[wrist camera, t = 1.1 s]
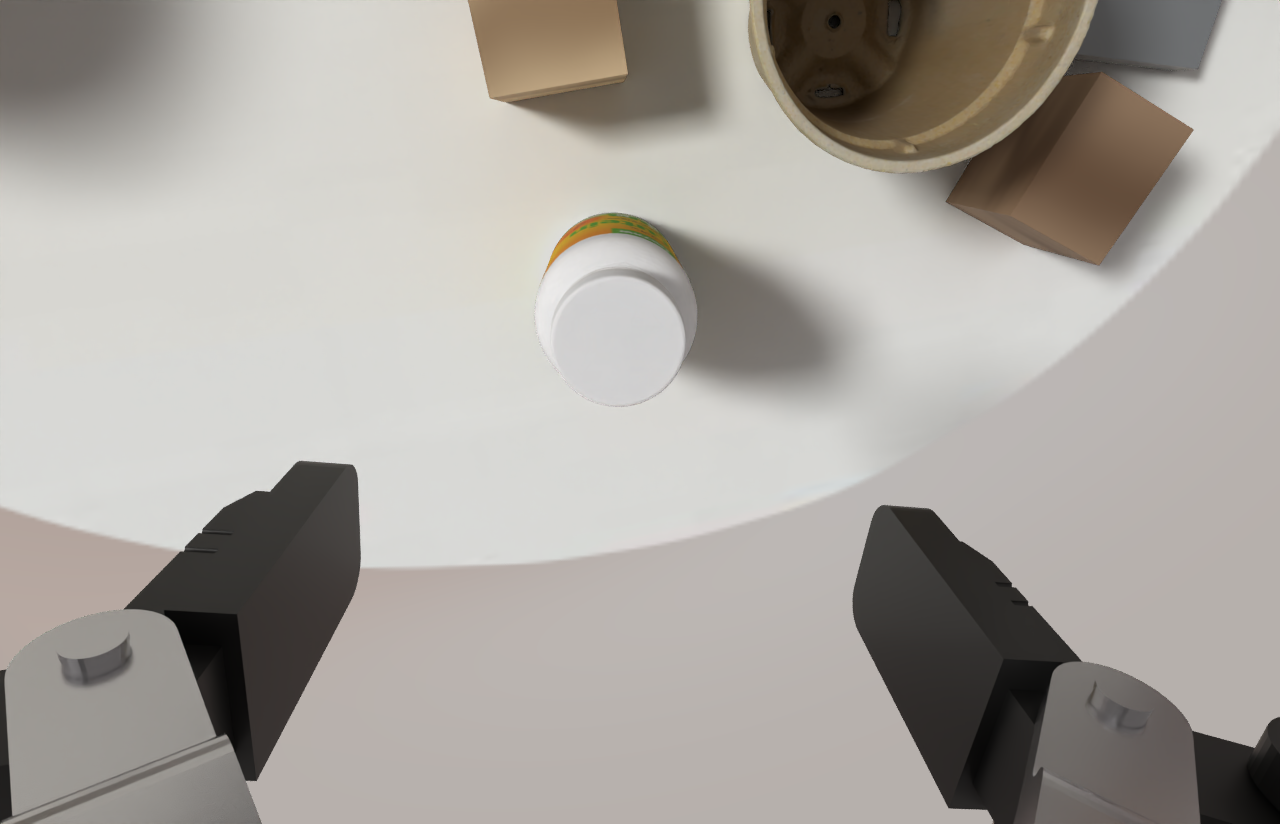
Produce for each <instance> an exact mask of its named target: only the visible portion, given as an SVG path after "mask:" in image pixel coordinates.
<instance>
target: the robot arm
mask: <svg viewBox="0 0 1280 824" xmlns="http://www.w3.org/2000/svg"><path fill="white" fill-rule="evenodd" d="M360 560H361V551H360V525H359V499H358V478H357V473H356V469H355V467H354V466H353V465H350V464H336V463H323V462H309V461H299V462H297V463H296V464H295V465H294V466H293V467H292V468H291V469H290V470H289V471H288V472H287V474H286V475H285V476H284V477H283V478H282V479H281V480H280V481H279V482H278V484H277V485H276V486H275V487H274V488H273V489H272V490H271V491H270V492H264V491H255V492H253V493H251V494H249V495H247V496H245V497H243V498H242V499H240V500H238V501H236V502H234V503H232V504H230V505H228V506H226V507H224V508H223V509H222V510H221V511H220V512H219V513H218V514H217V515H216V516H215V517H214V518H213V519H212V520H211V521H210V522H209V523H208V524H207V525H206V526H205V527H204V528H203V531H202V533H198V534H197V535H196V536H195V537H194V538H193V539H192V540H191V541H190V542H189V543H188V544H187V545H186V546H185V551H184V552H181V551H180V552H179V554H178V555H177V556H176V557H175V558H174V559H173V560H172V561H171V562H170V563H169V564H168V565H167V566H166V567H165V568H164V569H163V570H162V571H161V572H160V573H159V574H158V575H157V576H156V577H155V578H154V579H153V580H152V581H151V582H150V583H149V584H148V585H147V586H146V587H145V588H144V589H143V590H142V591H141V592H140V593H139V594H138V595H137V596H136V597H135V599H133V600H132V601H131V602H130V604H128V605H127V607H125V608H124V609H123V610H113V611H107V612H101V613H97V614H92V615H88V616H85V617H81V618H78V619H75V620H72V621H70V622H67V623H65V624H63V625H60V626H58V627H56V628H54V629H52V630H50V631H48V632H46V633H44V634H42V635H41V636H39V637H37V638H36V639H35V640H33V641H32V642H30V643H29V644H28V645H26V646H25V647H24V648H23V649H22V650H21V651H20V652H19V653H18V654H17V655H16V656H15V657H14V658H13V660H12V661H11V662H10V664H9V666H8V668H7V669H6V670H1V671H0V824H262V823H261V820H260V818H259V815H258V812H257V810H256V807H255V804H254V802H253V799H252V796H251V794H250V791H249V789H248V786H247V783H246V781H257V779H258V777H259V775H260V773H261V771H262V769H263V767H264V766H265V764H266V762H267V760H268V758H269V756H270V754H271V752H272V750H273V748H274V746H275V745H276V743H277V741H278V739H279V737H280V735H281V733H282V731H283V729H284V727H285V725H286V723H287V721H288V719H289V718H290V716H291V714H292V712H293V710H294V708H295V706H296V704H297V703H298V701H299V699H300V697H301V695H302V693H303V691H304V689H305V687H306V685H307V683H308V682H309V680H310V678H311V676H312V674H313V672H314V670H315V668H316V666H317V664H318V662H319V661H320V659H321V657H322V655H323V652H324V651H325V649H326V647H327V645H328V643H329V641H330V640H331V638H332V636H333V634H334V632H335V630H336V628H337V626H338V624H339V622H340V620H341V619H342V617H343V615H344V613H345V611H346V609H347V607H348V605H349V603H350V601H351V599H352V597H353V595H354V592H355V589H356V586H357V582H358V577H359V571H360ZM853 615H854V620H855V624H856V627H857V629H858V631H859V633H860V635H861V637H862V639H863V641H864V643H865V645H866V647H867V649H868V651H869V653H870V655H871V657H872V659H873V661H874V662H875V665H876V667H877V669H878V671H879V673H880V674H881V676H882V678H883V680H884V682H885V684H886V686H887V688H888V690H889V692H890V694H891V696H892V698H893V700H894V702H895V704H896V706H897V708H898V710H899V712H900V714H901V716H902V718H903V720H904V721H905V723H906V726H907V727H908V729H909V731H910V733H911V735H912V737H913V739H914V741H915V743H916V745H917V747H918V749H919V751H920V753H921V755H922V757H923V759H924V761H925V763H926V764H927V767H928V769H929V770H930V772H931V774H932V776H933V778H934V780H935V782H936V784H937V786H938V788H939V790H940V792H941V794H942V796H943V798H944V800H945V802H946V804H947V806H948V808H953V809H982V810H988V812H989V813H990V815H991V817H992V819H993V823H992V824H1280V717H1278V718H1276V719H1273V720H1272V721H1271V722H1270V723H1269V724H1268V726H1267V727H1266V729H1265V731H1264V733H1263V735H1262V736H1261V738H1260V740H1259V742H1258V744H1257V745H1256V747H1255V748H1253V747H1249V746H1246V745H1242V744H1238V743H1234V742H1231V741H1227V740H1224V739H1220V738H1216V737H1212V736H1208V735H1205V734H1202V733H1198V732H1194V731H1192V729H1191V727H1190V725H1189V723H1188V721H1187V719H1186V718H1185V717H1184V715H1183V714H1182V713H1181V712H1180V711H1179V710H1178V709H1177V707H1176V706H1175V705H1173V704H1172V703H1171V702H1170V701H1169V700H1168V699H1167V698H1166V697H1164V696H1163V695H1162V694H1160V693H1159V692H1158V691H1156V690H1155V689H1153V688H1152V687H1150V686H1148V685H1147V684H1145V683H1144V682H1142V681H1140V680H1138V679H1136V678H1134V677H1132V676H1130V675H1128V674H1126V673H1123V672H1121V671H1118V670H1116V669H1113V668H1110V667H1107V666H1103V665H1099V664H1094V663H1089V662H1082V661H1081V660H1080V659H1079V657H1078V656H1077V655H1076V654H1075V653H1074V652H1073V651H1072V650H1071V649H1070V647H1069V646H1068V645H1067V644H1066V643H1065V642H1064V641H1063V640H1062V639H1061V637H1060V636H1059V635H1058V634H1057V633H1056V632H1055V631H1054V630H1053V628H1052V627H1051V626H1050V625H1049V624H1048V623H1047V622H1046V621H1045V620H1044V619H1043V617H1042V616H1041V615H1040V614H1039V613H1038V612H1037V611H1036V610H1035V609H1034V608H1033V606H1028V601H1027V600H1026V598H1025V597H1024V596H1023V595H1022V594H1021V593H1020V592H1019V591H1018V590H1017V588H1014V587H1012V583H1011V582H1010V581H1009V580H1008V578H1007V577H1006V576H1005V575H1004V574H1003V573H1002V572H1001V571H1000V570H999V568H998V567H997V566H996V565H995V564H994V563H993V562H992V561H991V560H989V559H988V558H986V557H985V556H983V555H982V554H980V553H979V552H977V551H976V550H974V549H973V548H971V547H970V546H968V545H967V544H965V543H964V542H960V541H959V540H958V539H957V538H956V537H955V536H954V534H953V533H952V532H951V531H950V530H949V529H948V527H947V526H946V525H945V524H944V523H943V522H942V520H941V519H940V518H939V517H938V516H937V515H936V514H935V512H933V511H932V510H931V509H927V508H915V507H901V506H888V505H882V506H880V507H879V508H878V509H877V510H876V511H875V513H874V515H873V518H872V521H871V525H870V528H869V533H868V536H867V540H866V544H865V548H864V551H863V556H862V559H861V563H860V567H859V571H858V574H857V578H856V582H855V586H854V592H853Z"/></svg>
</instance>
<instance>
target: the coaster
mask: <svg viewBox="0 0 1280 824" xmlns="http://www.w3.org/2000/svg"><path fill="white" fill-rule="evenodd" d="M1221 2H1222V0H1098V3H1097V5H1096V8H1095V11H1094V16H1093V18H1092V20H1091V22H1090V26H1089V29H1088V31H1087V34H1086V36H1085V38H1084V40H1083V43H1082V45H1081V47H1080V49H1079V51H1078V52H1077V54H1076V56H1075V58H1074V59H1079V60H1087V61H1095V62H1103V63H1111V64H1119V65H1127V66H1135V67H1144V68H1152V69H1160V70H1168V71H1182V70H1193V69H1198V68H1199V65H1200V62H1201V59H1202V56H1203V53H1204V50H1205V47H1206V45H1207V42H1208V39H1209V36H1210V33H1211V30H1212V27H1213V25H1214V22H1215V19H1216V16H1217V13H1218V10H1219V7H1220V4H1221Z"/></svg>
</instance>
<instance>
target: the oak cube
mask: <svg viewBox="0 0 1280 824" xmlns="http://www.w3.org/2000/svg"><path fill="white" fill-rule="evenodd" d="M468 3H469V7H470V12H471V16H472V21H473V25H474V30H475V34H476V39H477V43H478V48H479V52H480V57H481V61H482V66H483V70H484V75H485V79H486V84H487V88H488V93H489V97H490V98H491V99H495V100H499V101H502V102H506V103H507V102H513V101H518V100H524V99H530V98H535V97H541V96H547V95H552V94H558V93H564V92H569V91H575V90H581V89H586V88H592V87H598V86H603V85H609V84H615V83H620V82H624V81H625V79H626V77H627V75H628V71H627V64H626V58H625V51H624V45H623V38H622V32H621V25H620V19H619V12H618V6H617V0H468Z"/></svg>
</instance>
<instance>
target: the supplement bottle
mask: <svg viewBox="0 0 1280 824" xmlns="http://www.w3.org/2000/svg"><path fill="white" fill-rule="evenodd" d="M697 318H698V313H697V304H696V298H695V294H694V291H693V288H692V285H691V283H690V280H689V278H688V276H687V274H686V273H685V271H684V269H683V267H682V266H681V264H680V262H679V260H678V259H677V257H676V255H675V253H674V251H673V250H672V248H671V246H670V245H669V243H668V241H667V240H666V239H665V238H664V237H663V235H662V234H661V233H660V232H659V231H658V230H657V229H656V228H655V227H653V226H652V225H650V224H649V223H647V222H646V221H644V220H642V219H640V218H638V217H635V216H632V215H628V214H623V213H602V214H597V215H593V216H591V217H588V218H586V219H584V220H582V221H580V222H578V223H577V224H575V225H574V226H573V227H571V228H570V229H569V230H568V231H567V232H566V233H565V234H564V235H563V237H562V238H561V239H560V240H559V242H558V244H557V245H556V247H555V249H554V251H553V253H552V256H551V258H550V261H549V264H548V266H547V269H546V271H545V273H544V276H543V278H542V281H541V283H540V287H539V290H538V293H537V297H536V303H535V313H534V319H535V328H536V333H537V337H538V340H539V343H540V346H541V348H542V350H543V352H544V354H545V356H546V357H547V359H548V360H549V362H550V363H551V365H552V366H553V367H554V368H555V369H556V371H557V372H558V373H559V374H560V375H561V377H562V378H563V380H564V381H565V382H566V383H567V384H568V386H569V387H571V388H572V389H573V390H574V391H575V392H576V393H578V394H579V395H581V396H582V397H584V398H586V399H587V400H590V401H592V402H595V403H598V404H602V405H606V406H615V407H624V406H631V405H636V404H639V403H642V402H645V401H647V400H649V399H651V398H653V397H654V396H656V395H658V394H659V393H660V392H662V391H663V390H664V389H665V388H666V387H667V386H668V385H669V384H670V383H671V382H672V381H673V379H674V378H675V376H676V375H677V373H678V371H679V369H680V368H681V365H682V362H683V361H684V360H685V358H686V356H687V355H688V353H689V351H690V349H691V346H692V344H693V341H694V338H695V334H696V329H697Z"/></svg>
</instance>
